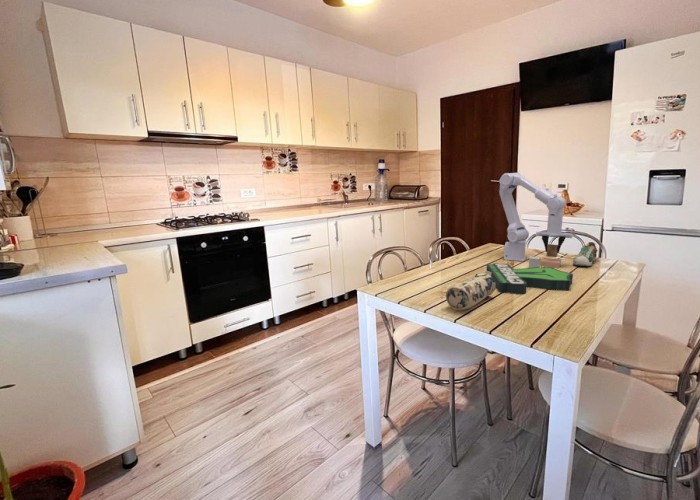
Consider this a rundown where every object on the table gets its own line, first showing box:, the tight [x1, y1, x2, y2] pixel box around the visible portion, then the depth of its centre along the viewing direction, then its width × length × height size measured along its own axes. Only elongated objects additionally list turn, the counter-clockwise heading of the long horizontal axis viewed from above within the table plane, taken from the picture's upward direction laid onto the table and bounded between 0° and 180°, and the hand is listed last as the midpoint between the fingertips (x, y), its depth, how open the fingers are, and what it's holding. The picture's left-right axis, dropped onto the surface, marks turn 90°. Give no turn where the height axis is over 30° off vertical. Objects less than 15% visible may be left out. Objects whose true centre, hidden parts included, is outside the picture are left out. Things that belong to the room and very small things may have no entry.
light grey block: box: [528, 256, 541, 268], centre depth 157 cm, size 4×4×5 cm
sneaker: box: [572, 241, 599, 267], centre depth 161 cm, size 8×21×10 cm, turn 135°
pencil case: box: [445, 270, 496, 311], centre depth 117 cm, size 22×8×10 cm, turn 134°
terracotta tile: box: [540, 257, 562, 269], centre depth 160 cm, size 7×7×3 cm
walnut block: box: [546, 243, 558, 258], centre depth 158 cm, size 4×4×5 cm
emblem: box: [486, 263, 574, 295], centre depth 138 cm, size 30×4×30 cm
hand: (552, 252), depth 159 cm, fingers closed on walnut block, 4 cm apart
